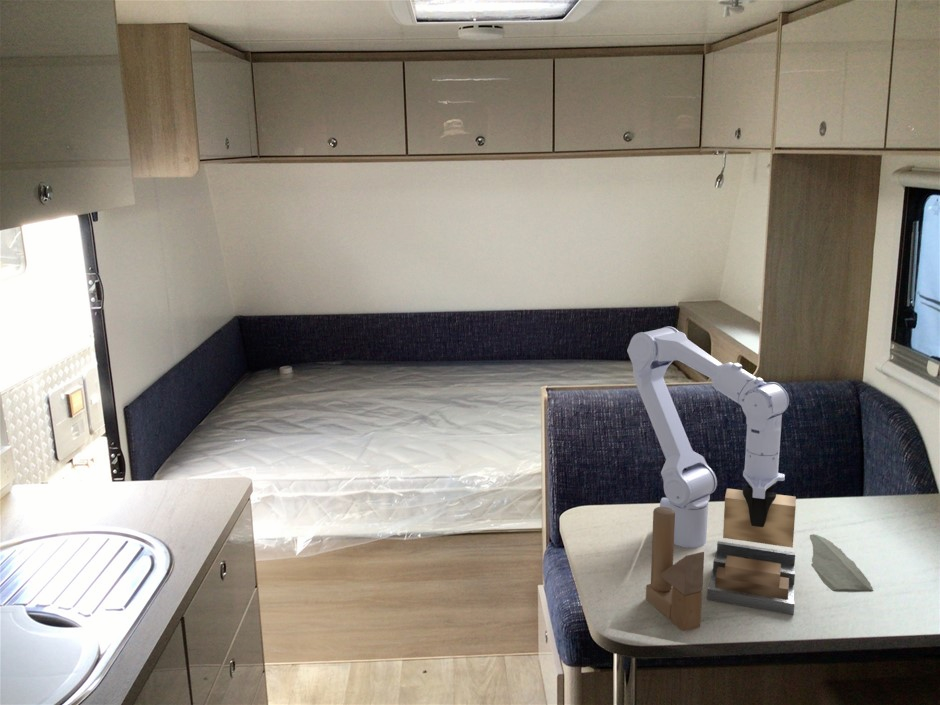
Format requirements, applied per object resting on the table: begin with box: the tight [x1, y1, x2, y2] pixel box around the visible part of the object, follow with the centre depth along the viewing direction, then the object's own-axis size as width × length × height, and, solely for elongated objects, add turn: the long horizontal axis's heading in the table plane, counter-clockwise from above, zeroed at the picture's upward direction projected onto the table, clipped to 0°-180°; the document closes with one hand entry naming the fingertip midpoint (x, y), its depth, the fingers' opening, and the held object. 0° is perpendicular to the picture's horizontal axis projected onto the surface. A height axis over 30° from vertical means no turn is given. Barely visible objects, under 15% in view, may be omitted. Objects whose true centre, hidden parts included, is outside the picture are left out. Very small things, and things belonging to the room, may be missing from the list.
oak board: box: [722, 488, 797, 549], centre depth 146 cm, size 12×4×8 cm, turn 68°
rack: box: [706, 540, 796, 616], centre depth 143 cm, size 14×19×3 cm
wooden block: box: [645, 506, 705, 632], centre depth 132 cm, size 4×11×18 cm, turn 22°
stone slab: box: [809, 533, 875, 592], centre depth 150 cm, size 22×3×10 cm
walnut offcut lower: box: [715, 567, 789, 600], centre depth 140 cm, size 12×4×2 cm, turn 68°
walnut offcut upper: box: [725, 555, 781, 588], centre depth 139 cm, size 9×4×2 cm, turn 68°
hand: (758, 520), depth 146 cm, fingers closed on oak board, 4 cm apart
